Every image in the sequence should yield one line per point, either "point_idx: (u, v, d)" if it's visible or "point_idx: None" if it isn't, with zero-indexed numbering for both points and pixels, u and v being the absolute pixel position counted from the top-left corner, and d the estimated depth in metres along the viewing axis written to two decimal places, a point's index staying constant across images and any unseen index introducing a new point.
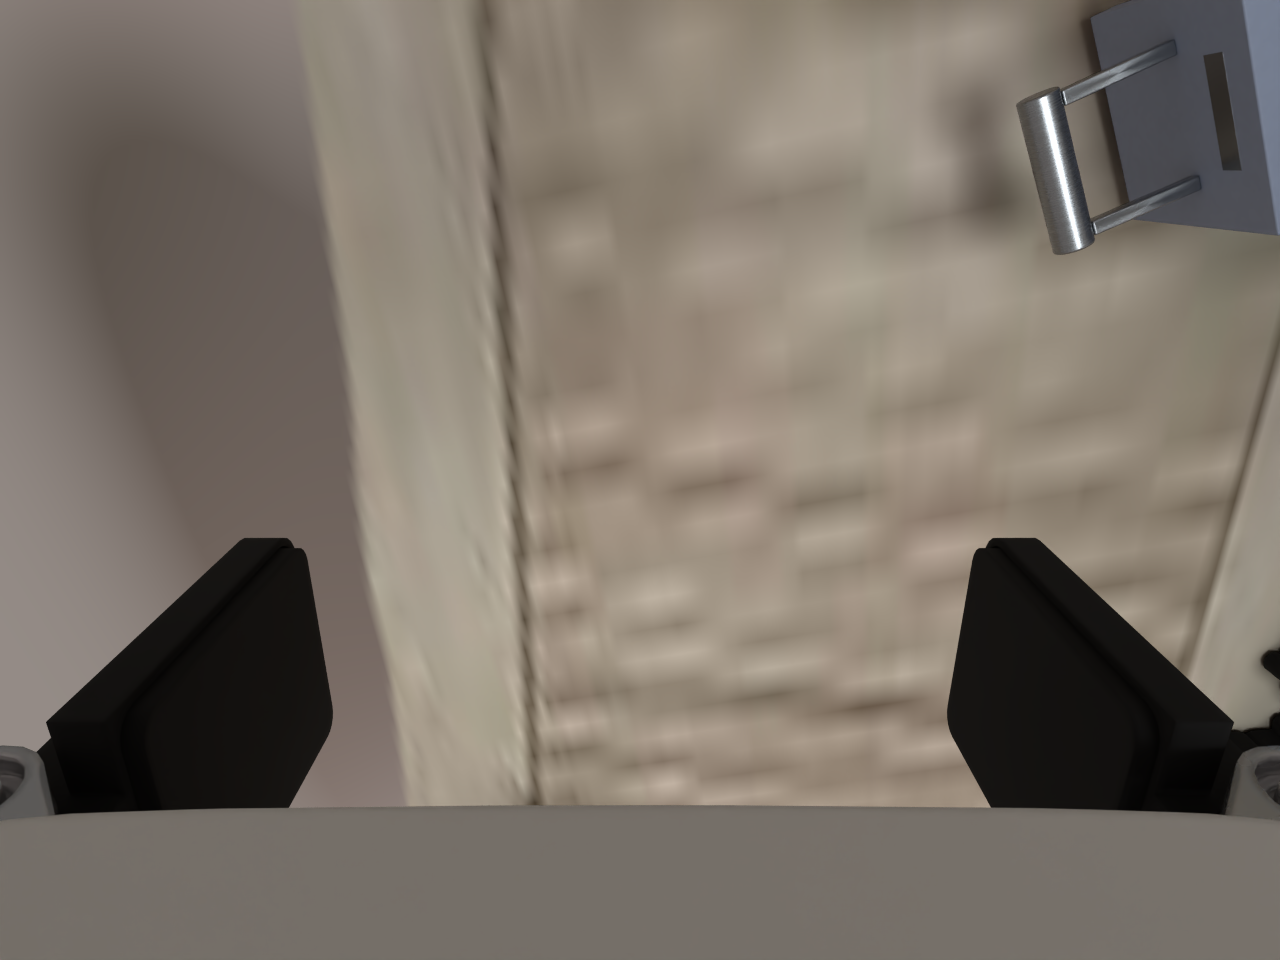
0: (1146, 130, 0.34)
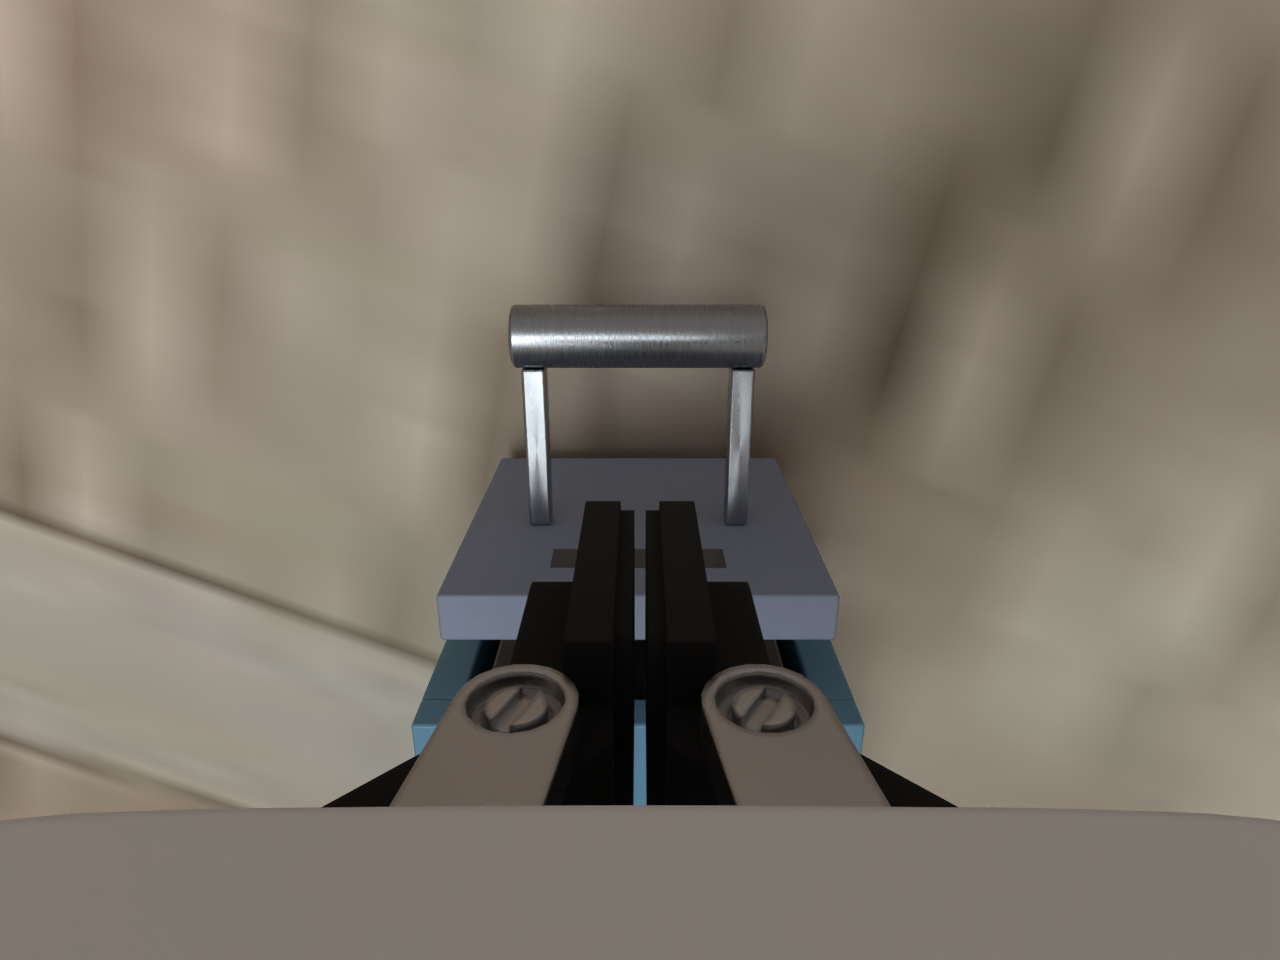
0: (624, 485, 0.24)
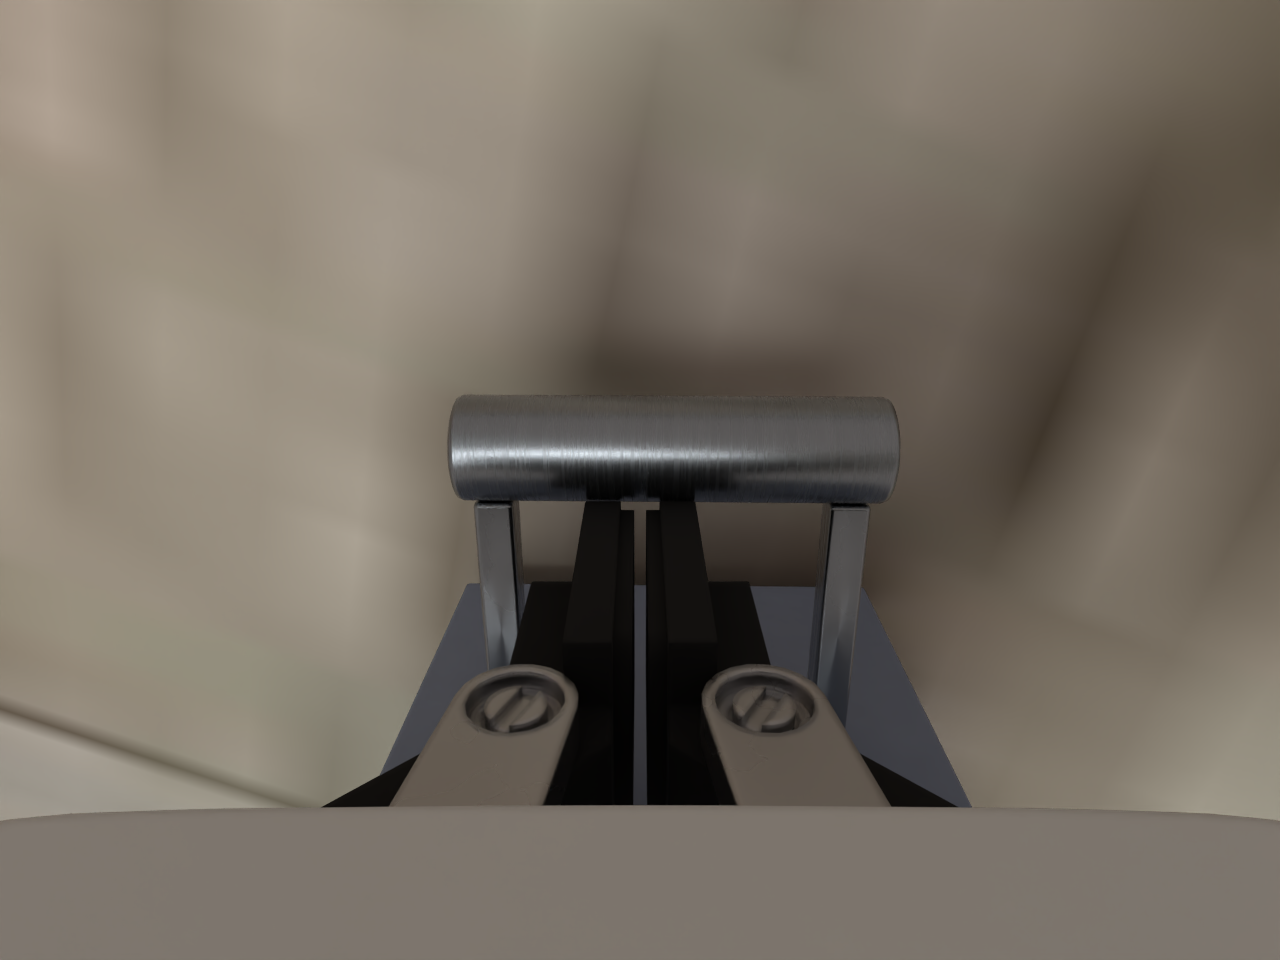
0: (644, 644, 0.16)
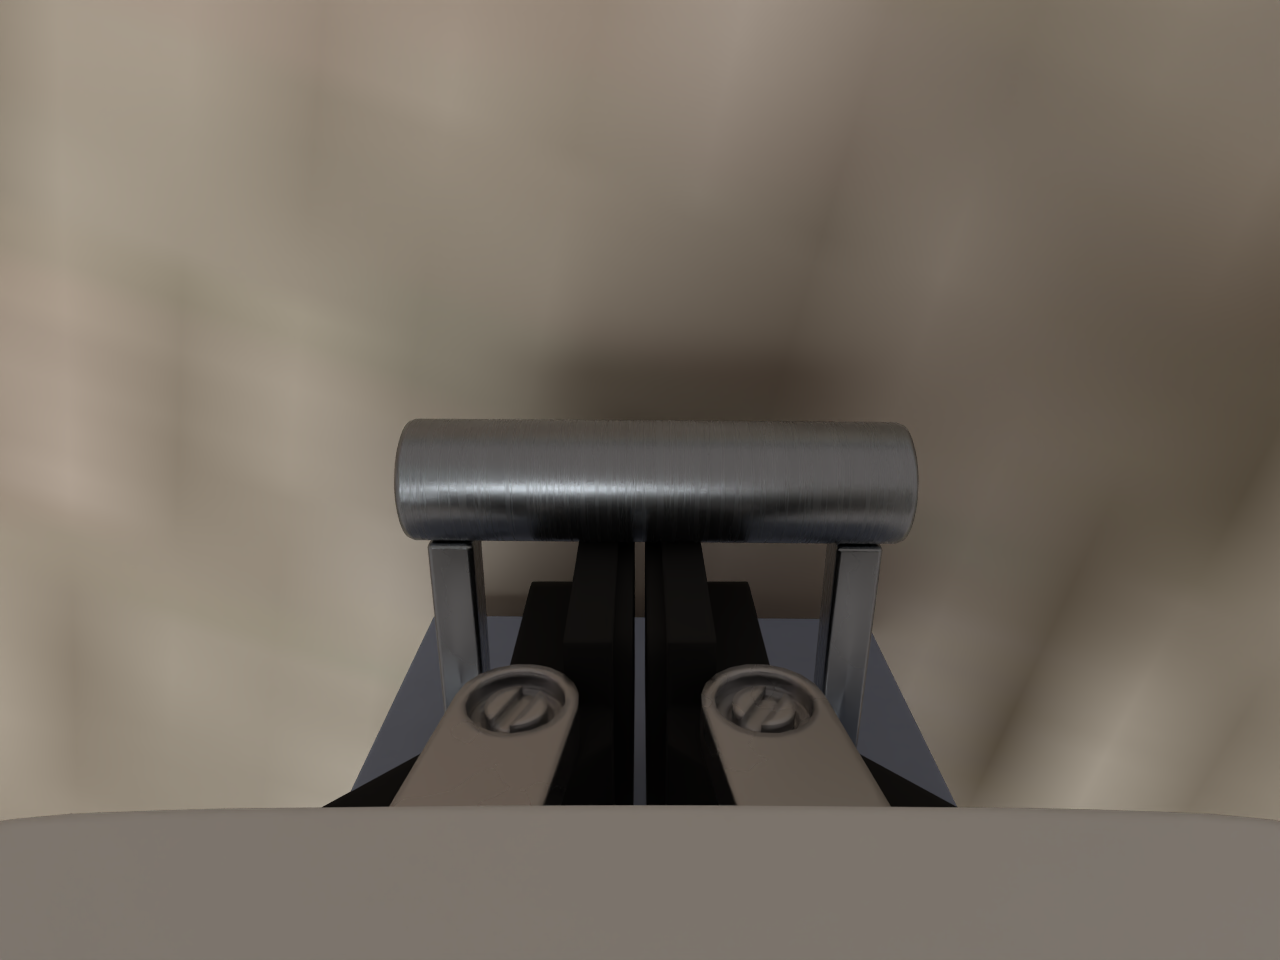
0: None
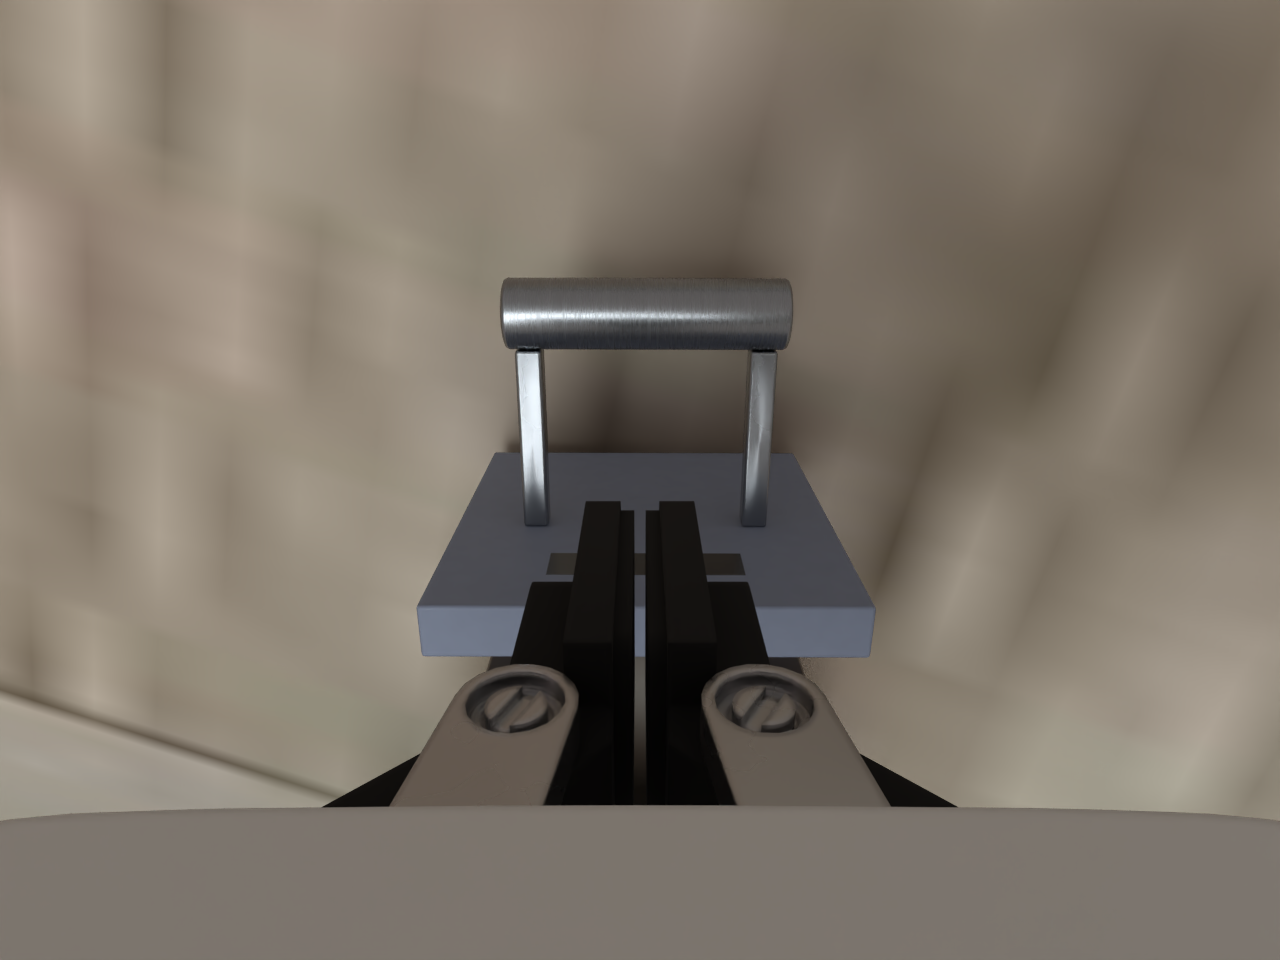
0: (628, 482, 0.22)
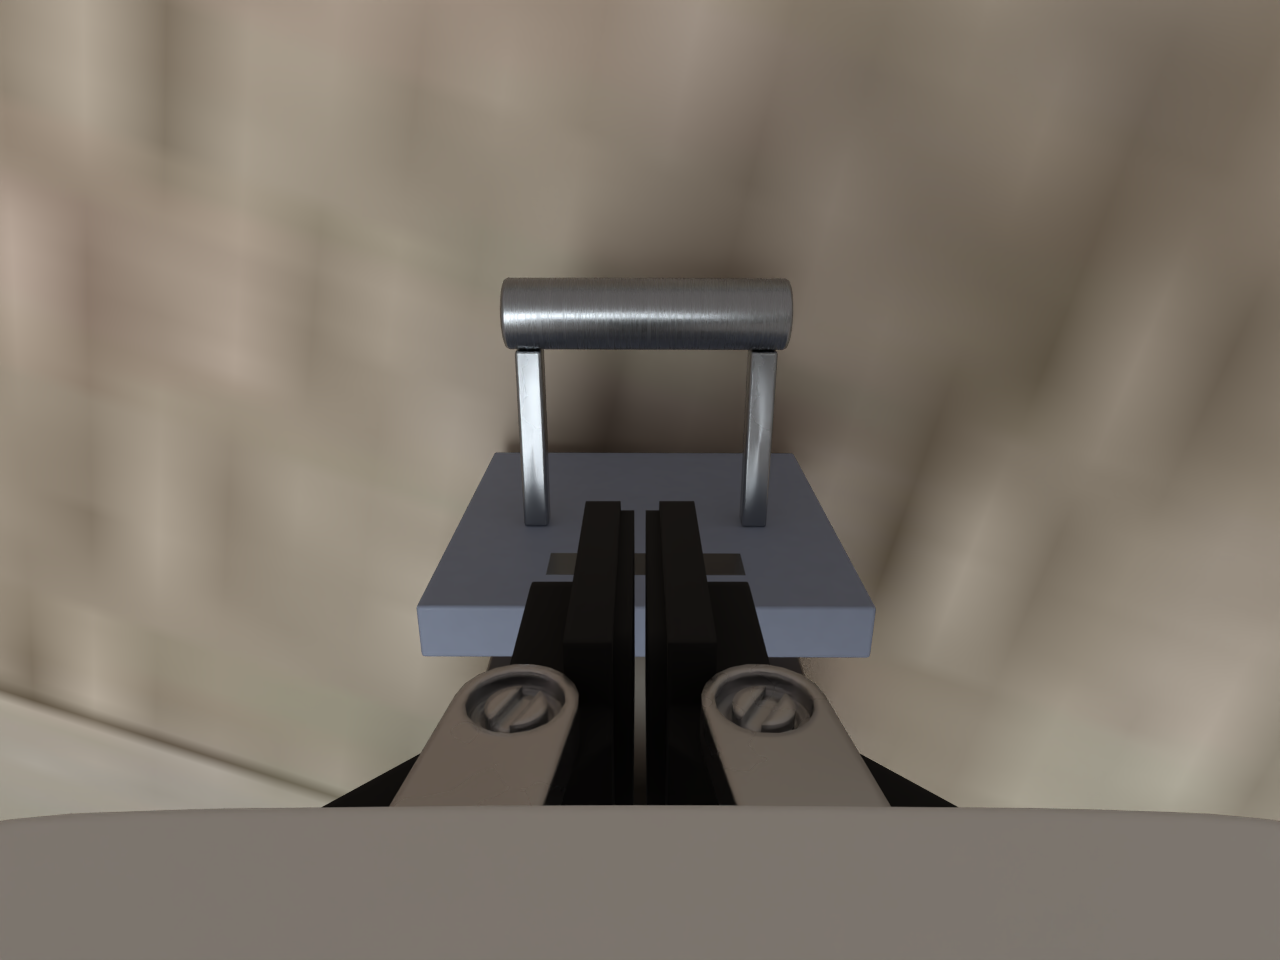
0: (628, 482, 0.22)
